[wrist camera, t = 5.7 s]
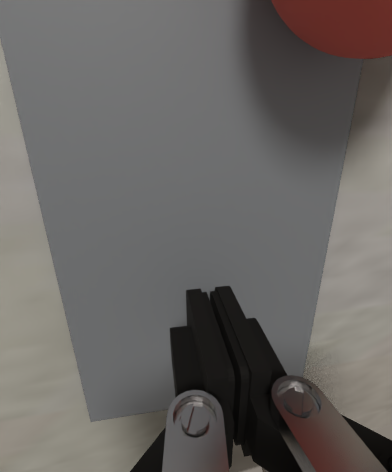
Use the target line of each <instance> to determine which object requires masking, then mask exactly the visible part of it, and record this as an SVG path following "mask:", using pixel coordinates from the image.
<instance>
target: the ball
mask: <svg viewBox="0 0 392 472" xmlns="http://www.w3.org/2000/svg"><path fill="white" fill-rule="evenodd" d="M271 1H272V3H273V5H274V7H275V9H276V11H277V13H278V14H279V16H280V17H281V19H282V20H283V21H284V22H285V24H286V25H287V26H288V27H289V29H290V30H291V31H292V32H293V33H294V34H295V35H297V36H298V37H299V38H300V39H302V40H303V41H304V42H306V43H307V44H309V45H310V46H312V47H314V48H316V49H318V50H320V51H322V52H325V53H327V54H330V55H334V56H338V57H344V58H356V59H373V58H381V57H386V56H391V55H392V0H271Z"/></svg>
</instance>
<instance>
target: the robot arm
mask: <svg viewBox="0 0 392 472" xmlns="http://www.w3.org/2000/svg"><path fill="white" fill-rule="evenodd" d="M186 310H187V326H180V327H172V328H170V345H171V358H172V369H173V378H174V388H175V397H176V398H175V399H174V400H173V401H172V403H171V405H170V406H169V409H168V413H167V419H166V427H165V429H164V430H163V431H162V432H161V434H160V435H159V436H158V437H157V439H156V440H155V441H154V442H153V444H152V445H151V446H150V447H149V449H148V450H147V451H146V452H145V454H144V455H143V456H142V457H141V459H140V460H139V461H138V462H137V464H136V465H135V466H134V467H133V469H132V470H131V471H130V472H229V469H230V467H231V464H232V448H233V439H234V443H235V445H240V444H241V447H242V450H243V453H244V456H250V455H251V456H252V459H253V461H254V462H255V463H257V464H258V465H260V466H261V467H262V470H263V472H392V441H391V440H389V439H387V438H386V437H383V436H382V435H380V434H378V433H376V432H374V431H372V430H370V429H368V428H366V427H364V426H362V425H360V424H358V423H357V422H355V421H353V420H351V419H349V418H347V417H345V416H343V415H341V414H340V413H339V412H338V410H337V409H336V408H335V407H334V406H333V404H332V403H331V402H330V401H329V399H328V398H327V397H326V396H325V395H324V393H323V392H322V391H321V390H320V389H319V388H318V387H317V386H316V385H315V384H314V383H312V382H311V381H309V380H307V379H305V378H302V377H300V376H293V375H289V376H288V375H287V373H286V372H285V370H284V368H283V366H282V364H281V363H280V361H279V359H278V357H277V355H276V353H275V352H274V350H273V348H272V346H271V344H270V342H269V341H268V339H267V337H266V335H265V333H264V332H263V330H262V328H261V326H260V324H259V322H258V321H257V319H256V318H248V319H246V317H245V315H244V313H243V311H242V309H241V307H240V305H239V303H238V301H237V299H236V297H235V295H234V293H233V291H232V289H231V287H230V286H220V287H215V291H210V300H209V297H208V294H207V292H202V291H201V289H190V290H186Z"/></svg>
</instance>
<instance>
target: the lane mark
mask: <svg viewBox="0 0 392 472" xmlns="http://www.w3.org/2000/svg"><path fill="white" fill-rule="evenodd" d="M0 38H1V43H2V47H3V51H4V55H5V60H6V64H7V68H8V72H9V77H10V81H11V85H12V89H13V94H14V98H15V102H16V106H17V111H18V115H19V119H20V123H21V128H22V132H23V136H24V140H25V145H26V149H27V153H28V157H29V162H30V166H31V170H32V174H33V179H34V183H35V187H36V191H37V196H38V200H39V204H40V208H41V212H42V217H43V221H44V225H45V229H46V234H47V238H48V242H49V246H50V251H51V255H52V259H53V263H54V268H55V272H56V276H57V280H58V285H59V289H60V293H61V297H62V302H63V306H64V310H65V314H66V319H67V323H68V327H69V331H70V336H71V340H72V344H73V348H74V353H75V357H76V361H77V365H78V370H79V374H80V378H81V382H82V387H83V391H84V395H85V399H86V403H87V408H88V412H89V416H90V420H91V422H93V421H99V420H105V419H111V418H118V417H124V416H130V415H136V414H142V413H149V412H155V411H161V410H167V409H169V406H170V405H171V403H172V401H173V400H174V399H175V398H176V397H175V388H174V378H173V369H172V358H171V345H170V328H172V327H180V326H187V310H186V290H190V289H201V291H202V292H207V294H208V297H209V300H210V291H215V287H220V286H230V287H231V289H232V291H233V293H234V295H235V297H236V299H237V301H238V303H239V305H240V307H241V309H242V311H243V313H244V315H245V317H246V319H248V318H256V319H257V321H258V322H259V324H260V326H261V328H262V330H263V332H264V333H265V335H266V337H267V339H268V341H269V342H270V344H271V346H272V348H273V350H274V352H275V353H276V355H277V357H278V359H279V361H280V363H281V364H282V366H283V368H284V370H285V372H286V373H287V375H288V376H289V375H293V376H300V377H302V378H303V373H304V368H305V363H306V357H307V352H308V347H309V342H310V336H311V331H312V326H313V321H314V315H315V310H316V305H317V300H318V295H319V289H320V284H321V279H322V274H323V268H324V263H325V258H326V253H327V247H328V242H329V237H330V232H331V226H332V221H333V216H334V211H335V205H336V200H337V195H338V190H339V185H340V179H341V174H342V169H343V164H344V158H345V153H346V148H347V143H348V137H349V132H350V127H351V122H352V116H353V111H354V106H355V101H356V95H357V90H358V85H359V80H360V75H361V69H362V64H363V59H356V58H344V57H338V56H334V55H330V54H327V53H325V52H322V51H320V50H318V49H316V48H314V47H312V46H310V45H309V44H307V43H306V42H304V41H303V40H302V39H300V38H299V37H298V36H297V35H295V34H294V33H293V32H292V31H291V30H290V29H289V27H288V26H287V25H286V24H285V22H284V21H283V20H282V19H281V17H280V16H279V14H278V13H277V11H276V9H275V7H274V5H273V3H272V1H271V0H0Z"/></svg>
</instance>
